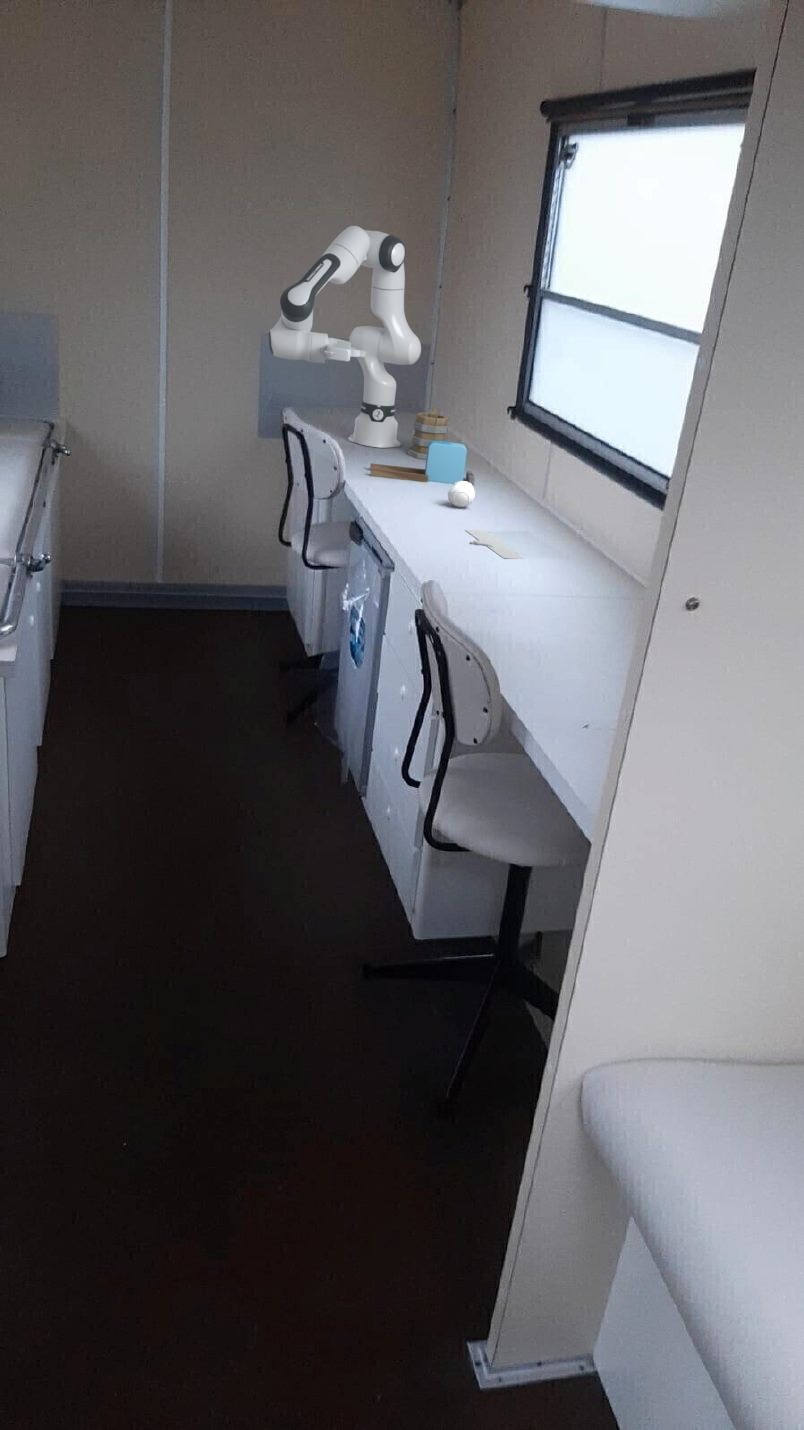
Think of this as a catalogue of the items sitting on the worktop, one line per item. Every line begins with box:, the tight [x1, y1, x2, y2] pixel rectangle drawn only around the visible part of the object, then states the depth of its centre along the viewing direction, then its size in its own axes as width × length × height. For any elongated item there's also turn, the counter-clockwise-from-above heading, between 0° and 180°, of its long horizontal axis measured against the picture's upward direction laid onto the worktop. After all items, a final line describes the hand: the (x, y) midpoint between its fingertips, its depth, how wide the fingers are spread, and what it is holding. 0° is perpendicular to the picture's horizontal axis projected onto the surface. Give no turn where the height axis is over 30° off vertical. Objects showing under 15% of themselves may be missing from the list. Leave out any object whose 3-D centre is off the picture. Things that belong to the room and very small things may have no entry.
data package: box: [424, 441, 468, 485], centre depth 357 cm, size 12×4×12 cm, turn 91°
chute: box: [369, 462, 476, 487], centre depth 358 cm, size 10×33×3 cm, turn 92°
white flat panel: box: [465, 529, 525, 560], centre depth 300 cm, size 25×24×1 cm
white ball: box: [447, 480, 476, 508], centre depth 329 cm, size 8×8×8 cm
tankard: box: [408, 407, 449, 461], centre depth 392 cm, size 20×13×15 cm, turn 171°
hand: (365, 353), depth 349 cm, fingers closed
